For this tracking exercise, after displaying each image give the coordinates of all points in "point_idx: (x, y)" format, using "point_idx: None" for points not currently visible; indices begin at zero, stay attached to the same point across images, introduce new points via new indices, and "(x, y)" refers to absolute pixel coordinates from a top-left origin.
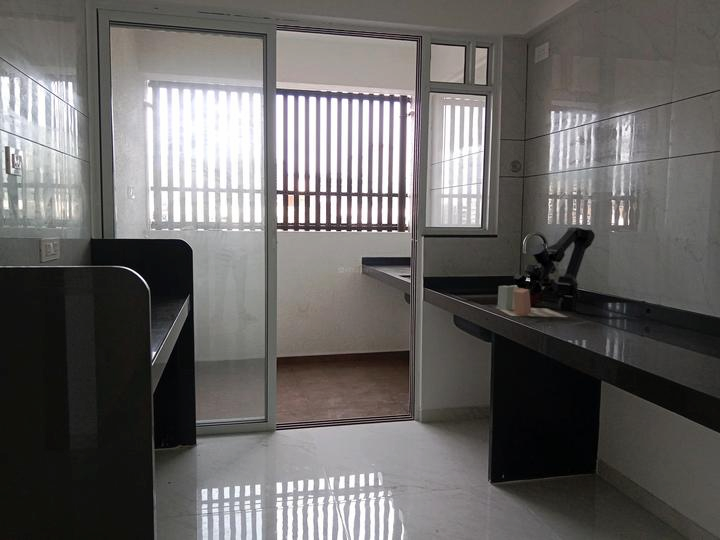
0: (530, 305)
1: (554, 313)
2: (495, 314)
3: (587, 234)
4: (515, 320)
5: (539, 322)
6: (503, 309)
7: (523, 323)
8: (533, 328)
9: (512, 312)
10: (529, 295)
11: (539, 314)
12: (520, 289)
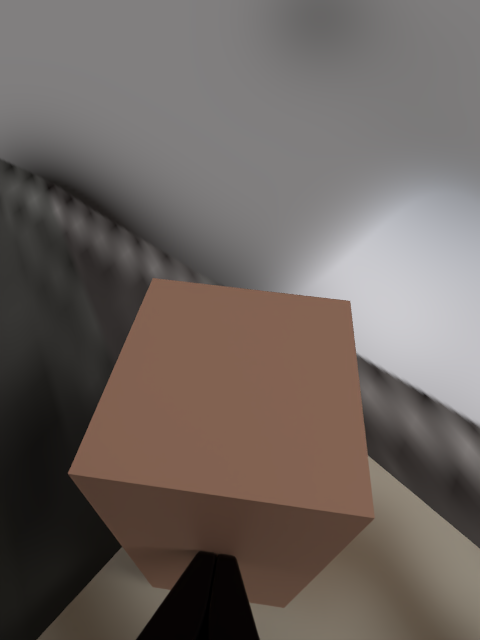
0: (138, 565)
1: None
2: (464, 442)
3: None
4: None
5: (22, 393)
6: None
7: (106, 267)
8: (11, 187)
9: (389, 585)
10: (107, 515)
11: None
12: (300, 432)
